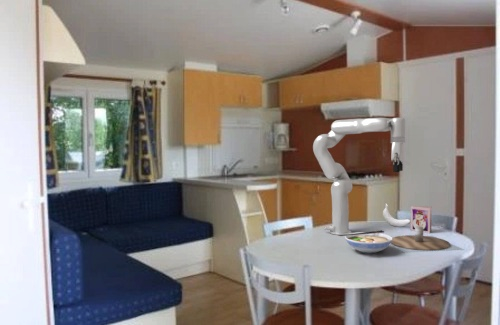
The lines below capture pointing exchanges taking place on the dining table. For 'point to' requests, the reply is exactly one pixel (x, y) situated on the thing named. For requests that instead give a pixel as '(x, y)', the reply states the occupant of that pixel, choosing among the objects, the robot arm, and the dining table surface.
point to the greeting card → (421, 218)
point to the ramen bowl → (368, 241)
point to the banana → (394, 221)
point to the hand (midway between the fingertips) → (397, 171)
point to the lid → (420, 241)
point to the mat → (452, 247)
